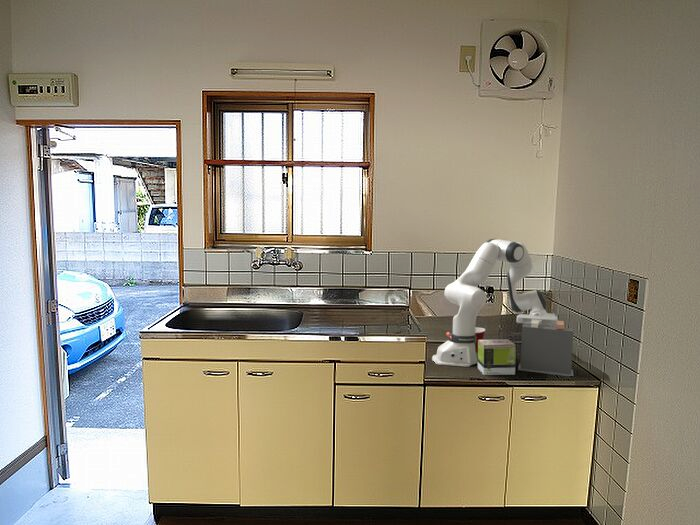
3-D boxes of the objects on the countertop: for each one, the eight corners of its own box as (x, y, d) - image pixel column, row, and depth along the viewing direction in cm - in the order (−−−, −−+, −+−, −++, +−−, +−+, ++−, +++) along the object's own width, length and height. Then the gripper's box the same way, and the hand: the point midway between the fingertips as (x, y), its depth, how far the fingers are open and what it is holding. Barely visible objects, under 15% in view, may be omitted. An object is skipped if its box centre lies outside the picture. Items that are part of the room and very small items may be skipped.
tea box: (507, 368, 230) (508, 338, 228) (515, 375, 220) (516, 344, 218) (476, 368, 230) (477, 338, 228) (483, 375, 220) (484, 344, 218)
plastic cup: (462, 347, 265) (463, 326, 263) (482, 348, 264) (483, 326, 262) (465, 353, 254) (466, 331, 253) (486, 353, 253) (487, 331, 252)
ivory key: (529, 338, 224) (530, 322, 223) (530, 332, 234) (531, 318, 233) (538, 339, 223) (539, 323, 222) (539, 333, 232) (540, 319, 231)
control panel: (518, 369, 227) (519, 326, 225) (519, 365, 235) (520, 323, 232) (573, 376, 218) (575, 332, 216) (572, 371, 225) (575, 328, 223)
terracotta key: (554, 339, 221) (555, 324, 221) (555, 334, 231) (555, 319, 230) (564, 340, 220) (565, 325, 219) (564, 335, 229) (564, 320, 228)
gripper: (517, 310, 260) (515, 315, 248) (558, 313, 252) (558, 319, 240) (516, 321, 261) (514, 327, 248) (557, 325, 253) (557, 331, 240)
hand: (536, 323), depth 244 cm, fingers closed
